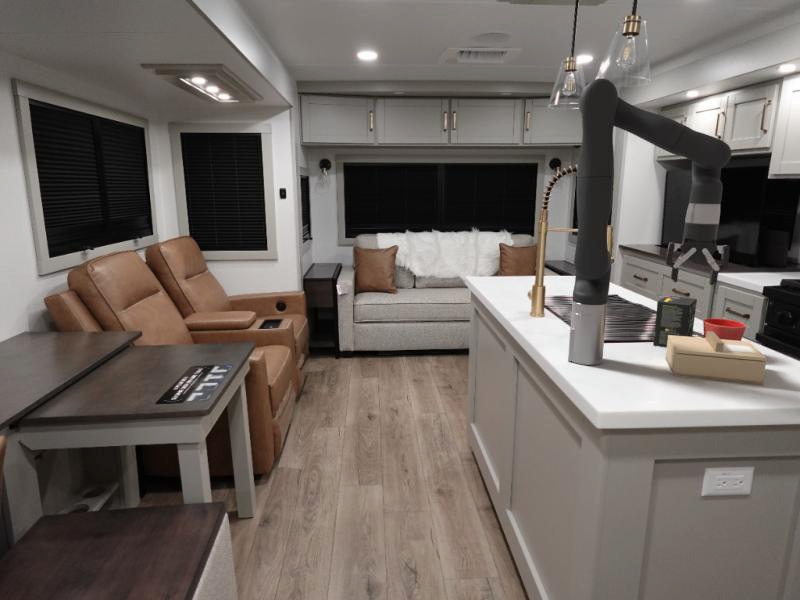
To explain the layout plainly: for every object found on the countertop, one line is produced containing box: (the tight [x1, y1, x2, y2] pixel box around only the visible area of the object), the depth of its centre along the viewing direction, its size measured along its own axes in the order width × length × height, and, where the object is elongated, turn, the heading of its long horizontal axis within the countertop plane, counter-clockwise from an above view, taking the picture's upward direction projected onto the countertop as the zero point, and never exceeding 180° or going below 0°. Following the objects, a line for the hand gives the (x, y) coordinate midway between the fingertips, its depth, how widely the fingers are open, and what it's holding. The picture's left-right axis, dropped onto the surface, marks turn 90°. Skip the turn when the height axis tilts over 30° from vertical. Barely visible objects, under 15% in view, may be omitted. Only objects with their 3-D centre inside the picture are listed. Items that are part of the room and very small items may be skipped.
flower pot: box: [702, 317, 747, 341], centre depth 152 cm, size 11×11×10 cm
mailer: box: [665, 339, 767, 386], centre depth 138 cm, size 20×15×6 cm
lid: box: [668, 331, 768, 362], centre depth 137 cm, size 20×15×3 cm
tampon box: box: [652, 295, 698, 348], centre depth 161 cm, size 11×9×15 cm
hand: (692, 283), depth 136 cm, fingers open, 8 cm apart
